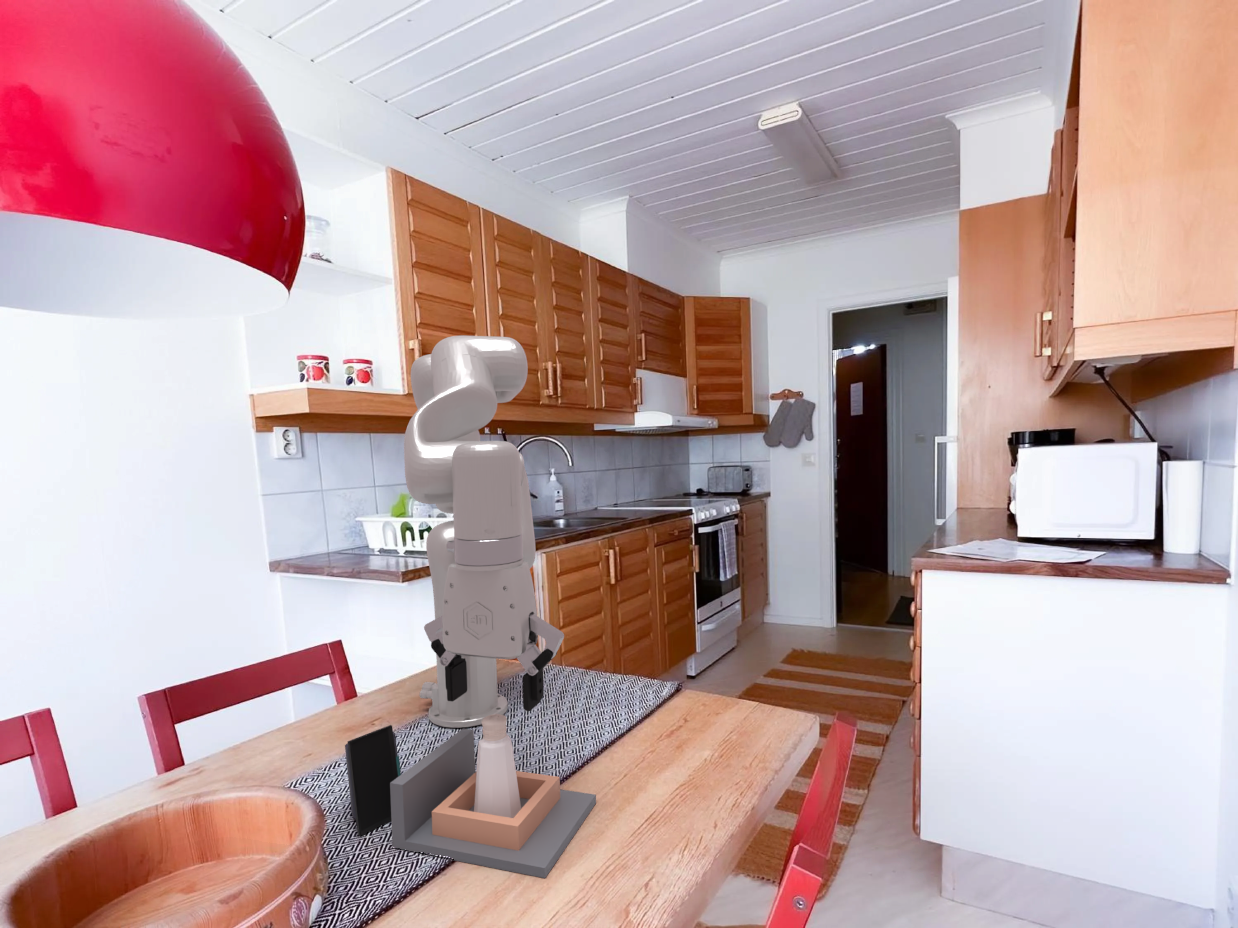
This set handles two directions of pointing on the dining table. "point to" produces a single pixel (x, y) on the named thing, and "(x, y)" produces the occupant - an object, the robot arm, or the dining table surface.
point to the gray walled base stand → (448, 826)
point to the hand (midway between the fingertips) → (494, 701)
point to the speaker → (372, 777)
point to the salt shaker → (496, 771)
